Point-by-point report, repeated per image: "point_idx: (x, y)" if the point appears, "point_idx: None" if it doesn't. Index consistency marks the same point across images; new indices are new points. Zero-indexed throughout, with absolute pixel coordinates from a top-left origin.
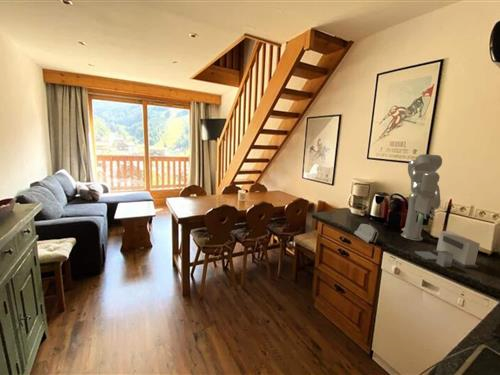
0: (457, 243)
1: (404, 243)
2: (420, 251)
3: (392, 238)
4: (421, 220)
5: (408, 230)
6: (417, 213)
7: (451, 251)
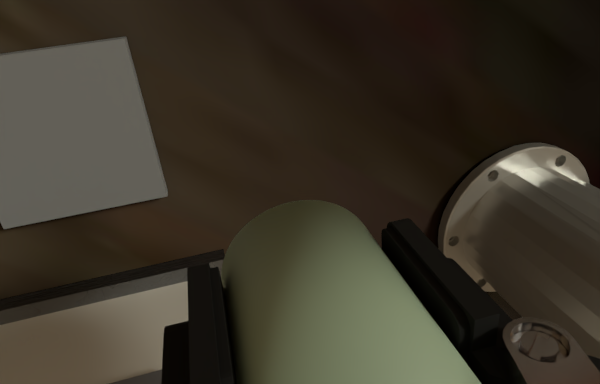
0: None
1: (373, 67)
2: (142, 106)
3: (497, 4)
4: (258, 307)
5: (551, 203)
6: (563, 381)
7: (46, 352)
